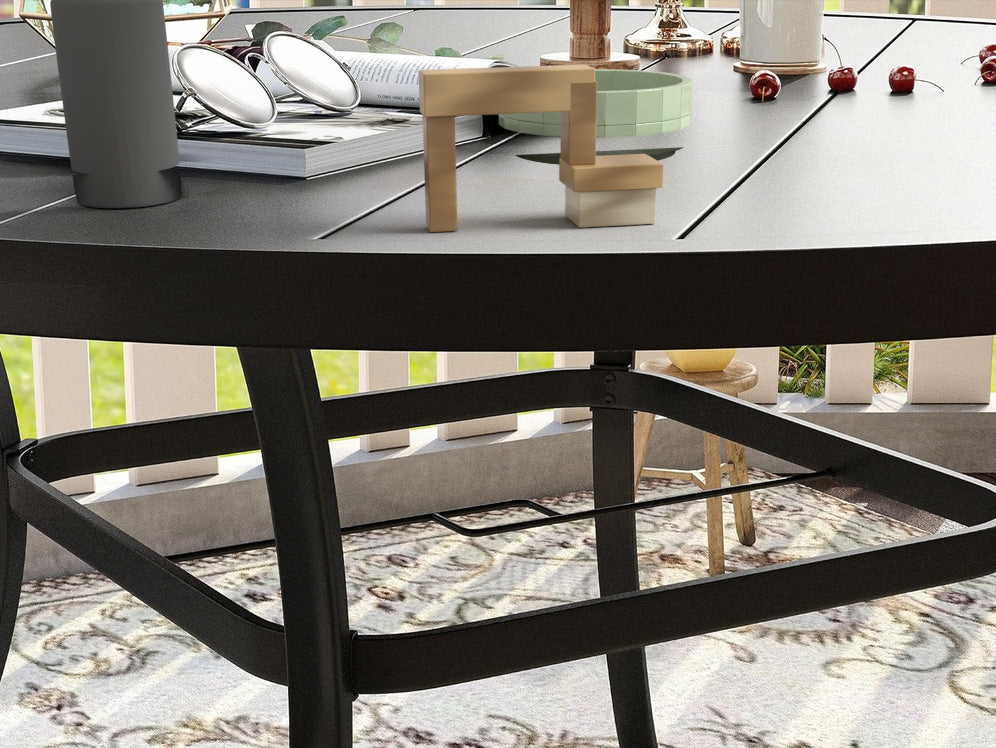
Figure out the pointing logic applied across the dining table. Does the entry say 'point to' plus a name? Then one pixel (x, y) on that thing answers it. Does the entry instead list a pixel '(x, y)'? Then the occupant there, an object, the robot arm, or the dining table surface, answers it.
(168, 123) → the bottle
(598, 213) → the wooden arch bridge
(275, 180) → the dining table surface
